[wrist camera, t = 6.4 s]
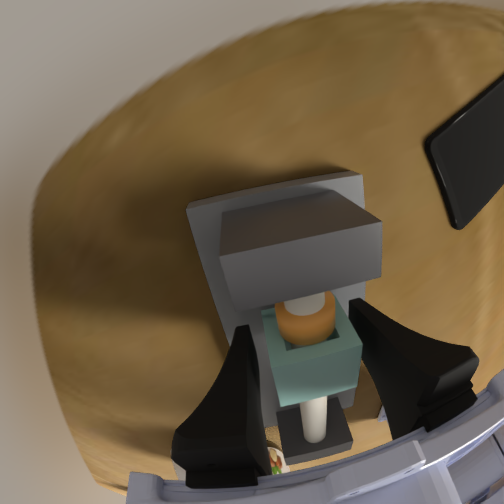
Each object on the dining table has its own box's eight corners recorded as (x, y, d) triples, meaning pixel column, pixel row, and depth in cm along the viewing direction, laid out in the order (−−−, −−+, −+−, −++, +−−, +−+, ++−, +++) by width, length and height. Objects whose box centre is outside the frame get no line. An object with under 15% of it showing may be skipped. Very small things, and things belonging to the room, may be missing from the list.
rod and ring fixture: (348, 395, 20) (367, 445, 16) (260, 417, 21) (267, 470, 16) (351, 170, 12) (418, 199, 7) (189, 202, 12) (163, 252, 7)
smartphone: (424, 142, 11) (515, 67, 8) (416, 141, 12) (508, 67, 9) (458, 235, 14) (537, 139, 11) (450, 231, 15) (531, 138, 12)
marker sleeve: (334, 337, 14) (357, 386, 11) (270, 352, 14) (280, 406, 11) (333, 293, 13) (362, 343, 9) (260, 310, 13) (271, 367, 9)
